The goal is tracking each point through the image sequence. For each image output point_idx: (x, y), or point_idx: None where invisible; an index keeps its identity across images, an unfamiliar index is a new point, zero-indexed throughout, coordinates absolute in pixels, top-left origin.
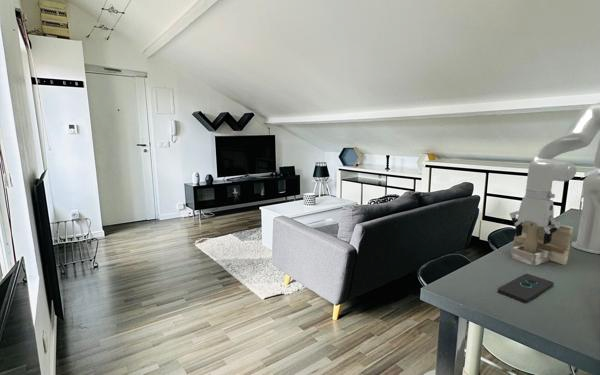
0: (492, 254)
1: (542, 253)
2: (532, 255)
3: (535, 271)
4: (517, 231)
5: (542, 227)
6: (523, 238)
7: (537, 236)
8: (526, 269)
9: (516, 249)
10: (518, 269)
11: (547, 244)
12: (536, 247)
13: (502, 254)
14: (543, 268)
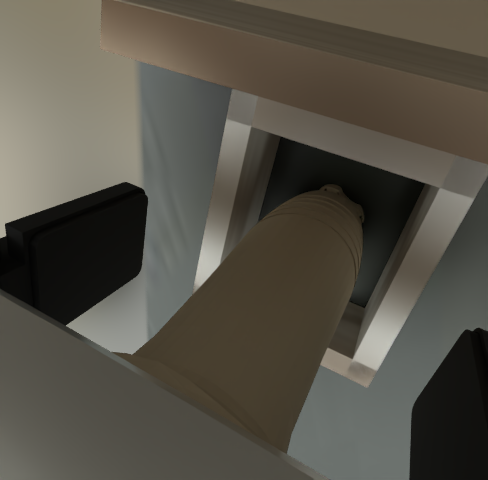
0: (148, 262)
1: (421, 289)
2: (347, 371)
3: (394, 416)
4: (92, 301)
5: (319, 37)
6: (178, 35)
7: (318, 366)
8: (345, 406)
9: None
10: (309, 422)
11: (477, 92)
12: (353, 288)
13: (180, 223)
14: (441, 344)
